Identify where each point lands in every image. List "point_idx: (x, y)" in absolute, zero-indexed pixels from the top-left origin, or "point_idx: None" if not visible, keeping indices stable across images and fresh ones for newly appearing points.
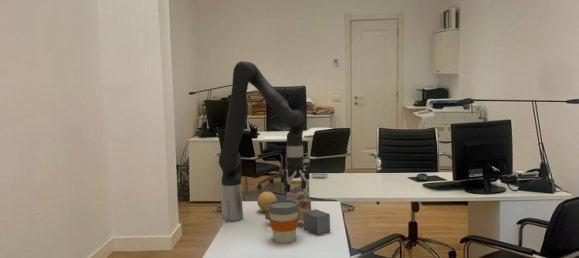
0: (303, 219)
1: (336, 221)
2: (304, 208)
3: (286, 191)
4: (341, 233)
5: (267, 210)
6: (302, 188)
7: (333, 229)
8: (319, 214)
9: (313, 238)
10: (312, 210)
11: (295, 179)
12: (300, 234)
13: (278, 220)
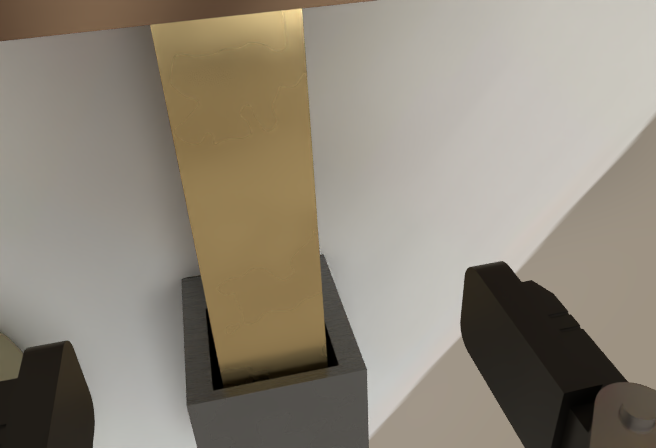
0: (185, 347)
1: (533, 225)
2: None
3: (30, 356)
4: (374, 428)
5: None
6: (466, 296)
7: (386, 355)
8: None
9: (159, 438)
10: (310, 391)
11: None
12: (106, 345)
13: None
